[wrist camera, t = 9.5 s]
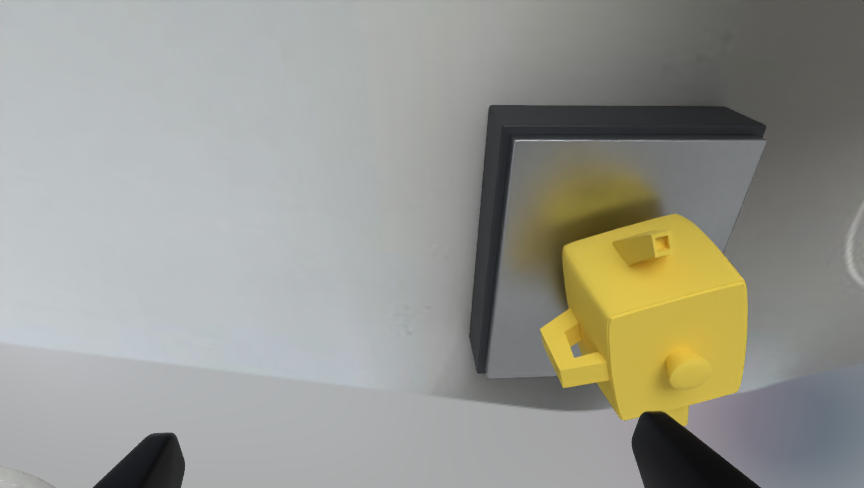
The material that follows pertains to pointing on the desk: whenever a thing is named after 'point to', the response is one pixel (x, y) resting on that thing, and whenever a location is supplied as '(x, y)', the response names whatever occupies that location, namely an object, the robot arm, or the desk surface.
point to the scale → (589, 204)
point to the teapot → (651, 318)
